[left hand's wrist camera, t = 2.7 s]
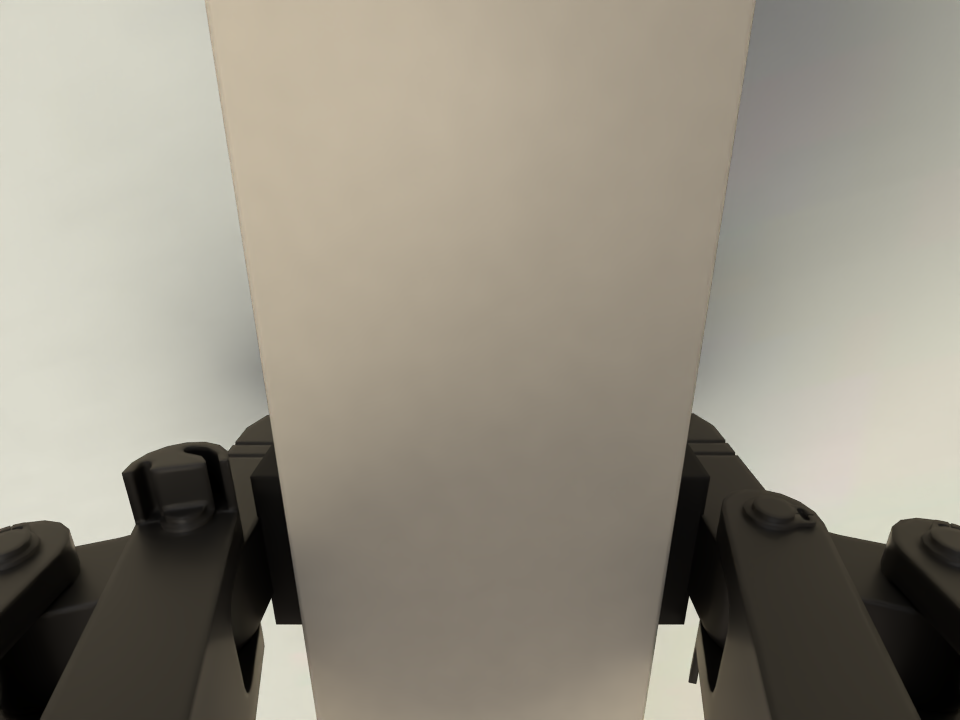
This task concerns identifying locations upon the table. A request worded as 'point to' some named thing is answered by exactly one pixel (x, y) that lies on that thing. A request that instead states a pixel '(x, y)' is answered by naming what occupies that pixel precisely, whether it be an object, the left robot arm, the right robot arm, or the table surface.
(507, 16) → the beam
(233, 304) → the table surface
